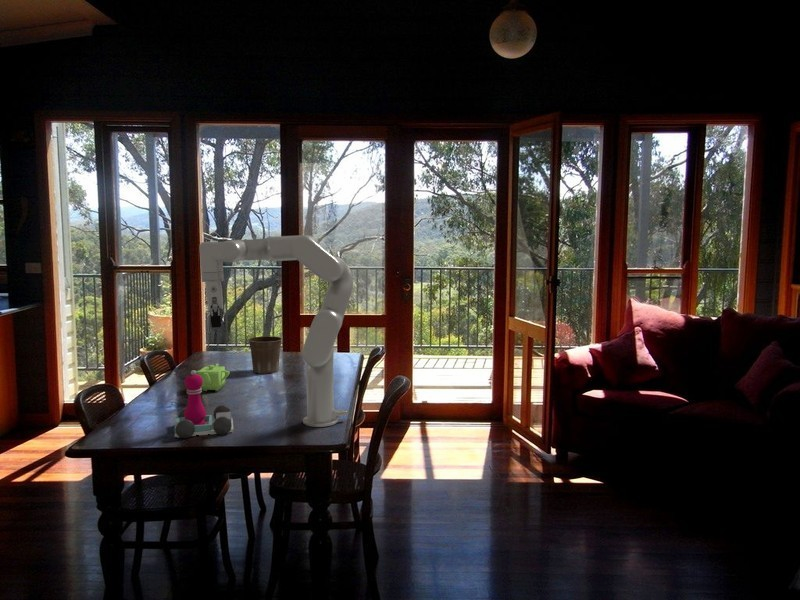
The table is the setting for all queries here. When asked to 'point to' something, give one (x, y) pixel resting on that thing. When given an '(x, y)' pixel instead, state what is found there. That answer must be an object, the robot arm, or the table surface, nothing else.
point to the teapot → (213, 377)
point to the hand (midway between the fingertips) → (215, 325)
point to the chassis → (217, 426)
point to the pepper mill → (194, 399)
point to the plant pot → (265, 353)
